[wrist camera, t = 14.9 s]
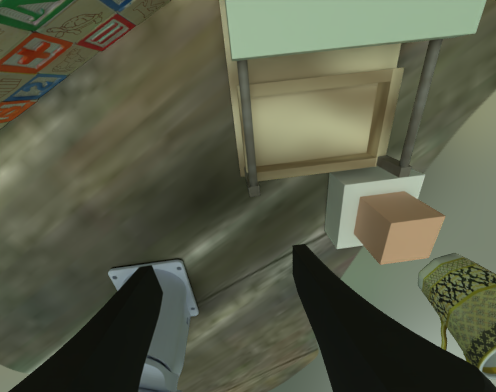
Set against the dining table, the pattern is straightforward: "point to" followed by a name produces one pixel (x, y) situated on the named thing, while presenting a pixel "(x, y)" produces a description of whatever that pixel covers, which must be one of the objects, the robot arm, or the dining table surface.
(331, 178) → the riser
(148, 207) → the dining table surface
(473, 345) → the ceramic cup
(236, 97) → the grey frame
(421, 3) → the lid
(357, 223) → the block
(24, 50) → the stack of blocks
